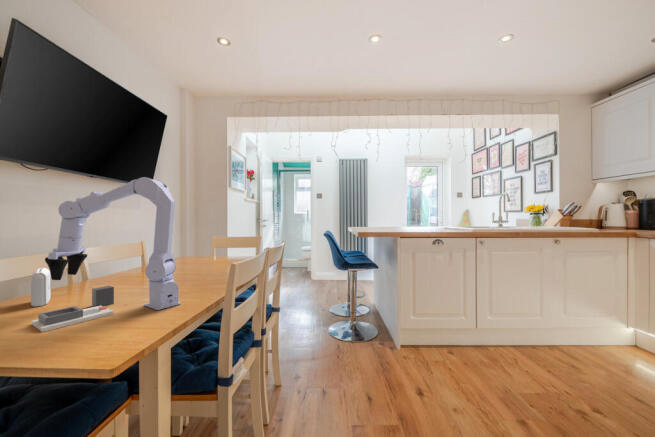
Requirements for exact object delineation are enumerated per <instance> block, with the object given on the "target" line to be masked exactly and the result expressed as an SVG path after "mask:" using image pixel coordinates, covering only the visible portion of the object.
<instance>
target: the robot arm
mask: <svg viewBox="0 0 655 437" xmlns="http://www.w3.org/2000/svg"><path fill="white" fill-rule="evenodd" d="M132 195H137V196H140V197H143V198H146V199H148V200H149V201H150V203H152V204H153V205H155V206H156V212H155V222H154V224H155V225H154V238H153V240H154V241H153V251H152V254H151V255H150V256H149V258H148V263H147V266H146V267H145V271H144V273H145V276H146V277H147V279H148V288H149V290H148V294H149V296H148V301H149V302H146V303H143V306H144V307H147V308H150V309H153V310H156V311H160V310H163V309H167V308H171V307H174V306H178V305H181V304H182V302H181V301H179V285H178V283H177V282H175V281H174V273H175V271H176V269H177V264H176V262H175V255H174V253H173V252H172V245H173V244H172V243H173V229H174V220H175V219H174V217H175V216H174V215H175V200H174V197H173V196H172V194H171V192H170V188H169V186H168V185H166V183H164V182H163V181H161V180H158V179H152V178H150V177H146V176H143V177H139V178H136V179H132V180H130V181H129V182H128V183H125V184H123V185H120V186H118V187H115V188H113V189H111V190H109V191H107V192H104V193H103V192H101V191H91V192H89V195H86V196H84V197H78V198H76V199H75V200H74V201H73V200H65V201H64V202H62V203H60V205H59V206H58V208H57V209H58V214H59V215H60V216H61V222H60V229H59V234H58V235H59V236H58V243H57V247H56V248H53V249H52V251H50V252H48V256H46V257H45V259H44V262H45V263H46V264H47V267H48V270H49V271H50V280H51V281H61V279H62V278H63V275H64V270H65V268H66V267H67V274H68V275H72V276H75V275H77V273H79V272H78V271H79V269H80V267H81V265H82V264H83V262H84V261H85V260H86V258H88V254H87V253H86V248H87V247H84V246H83V247H82V241H83V234H84V228H85V223H86V220H87V218H88V217H90V216H91V214H93V213H96V212H99V211H101V210H104V209H107V208H109V207H110V204H111V203H112V202H115V201H119V200H120V199H125V198H127V197H130V196H132ZM64 258H66V259H64Z"/></svg>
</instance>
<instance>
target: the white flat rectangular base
mask: <svg viewBox="0 0 655 437" xmlns="http://www.w3.org/2000/svg"><path fill="white" fill-rule="evenodd" d="M111 315H114V310H112V309H110V308H108V307H107V306H96V307H93V306H91V307H89V308H83V309H82V308H80V307H78V306H75V305H74V306H68V307H65V308H59V309H56V310H50V311H46V312H45V311H44V312H40V313H38V316H37V318H38V319H35V320H31V325H32V326H34V327H35V328H36V329H37V330H39V331H40V332H42V333H43V332H48V331H51V330H55V329H60V328H64V327H69V326H71V325H76V324H80V323H85V322H88V321H92V320H97V319H99V318H104V317H107V316H111Z"/></svg>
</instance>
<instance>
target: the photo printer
mask: <svg viewBox="0 0 655 437" xmlns="http://www.w3.org/2000/svg"><path fill="white" fill-rule="evenodd" d="M51 293H52V292H51V274H50V269H49V268H46V267H41V268H40V267H39V268H37V269H36V270H34V271H33V272H32V273H31V275H30V305H31V307H35V308H36V307H42V306H45V305H47V304H48V303H49V302H50V300H51Z"/></svg>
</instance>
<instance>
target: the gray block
mask: <svg viewBox="0 0 655 437" xmlns="http://www.w3.org/2000/svg"><path fill="white" fill-rule="evenodd" d="M111 305H115V287H114V286H113V285H112V286H111V285H106V286H100V287H95V288H92V289H91V307H96V306H105V307H107V306H111Z"/></svg>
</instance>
